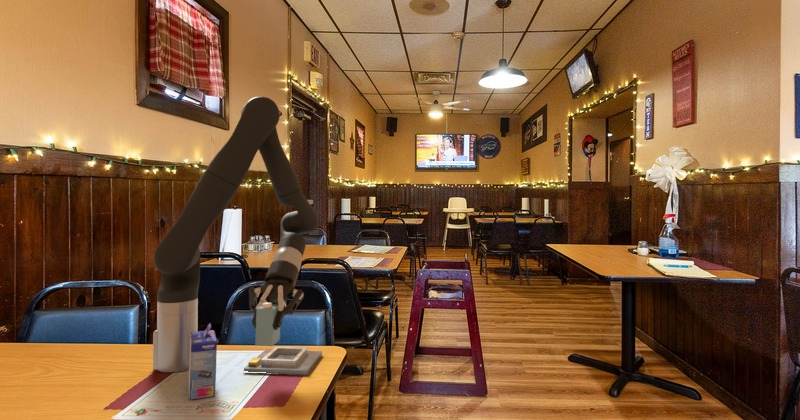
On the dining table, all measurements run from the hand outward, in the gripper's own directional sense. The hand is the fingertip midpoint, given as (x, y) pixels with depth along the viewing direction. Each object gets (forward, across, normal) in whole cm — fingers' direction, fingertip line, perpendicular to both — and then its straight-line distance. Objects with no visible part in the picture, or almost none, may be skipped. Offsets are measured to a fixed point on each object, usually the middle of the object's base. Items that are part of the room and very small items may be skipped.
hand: (265, 327), depth 97 cm
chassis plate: (0, +1, +18) cm, 18 cm away
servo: (+2, 0, +4) cm, 5 cm away
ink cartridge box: (+13, -12, +7) cm, 19 cm away
